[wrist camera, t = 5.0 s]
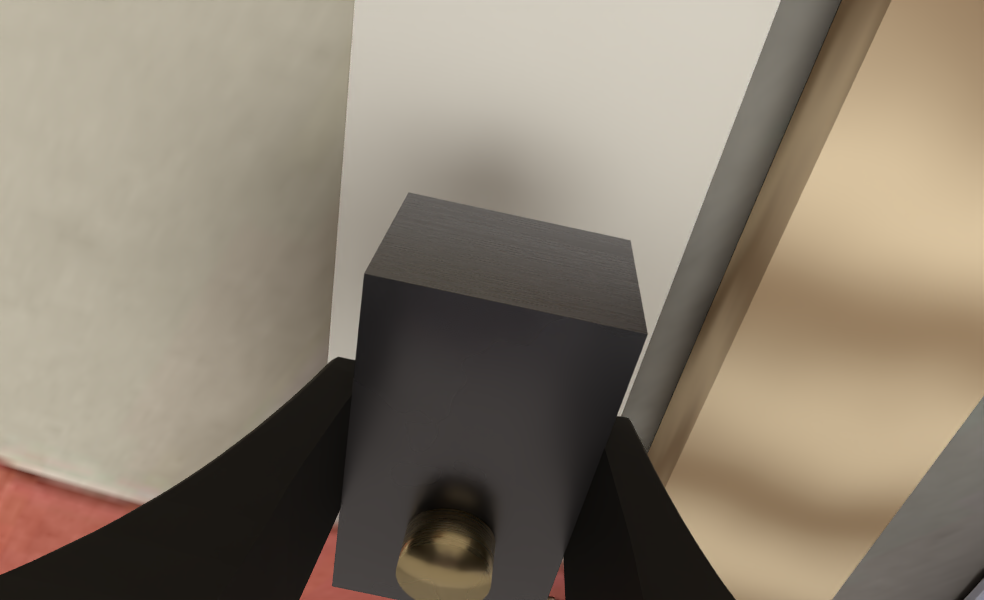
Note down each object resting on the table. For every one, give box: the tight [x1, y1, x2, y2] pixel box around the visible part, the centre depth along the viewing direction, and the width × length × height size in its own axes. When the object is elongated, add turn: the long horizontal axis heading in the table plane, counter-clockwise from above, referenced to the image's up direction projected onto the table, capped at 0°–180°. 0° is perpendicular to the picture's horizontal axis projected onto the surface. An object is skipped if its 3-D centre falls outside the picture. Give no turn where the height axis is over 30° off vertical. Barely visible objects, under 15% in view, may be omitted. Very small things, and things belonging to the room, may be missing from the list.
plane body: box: [647, 0, 984, 600], centre depth 18 cm, size 22×7×5 cm, turn 169°
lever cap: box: [332, 192, 648, 600], centre depth 12 cm, size 7×4×4 cm, turn 169°
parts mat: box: [328, 0, 781, 417], centre depth 20 cm, size 16×10×1 cm, turn 169°
